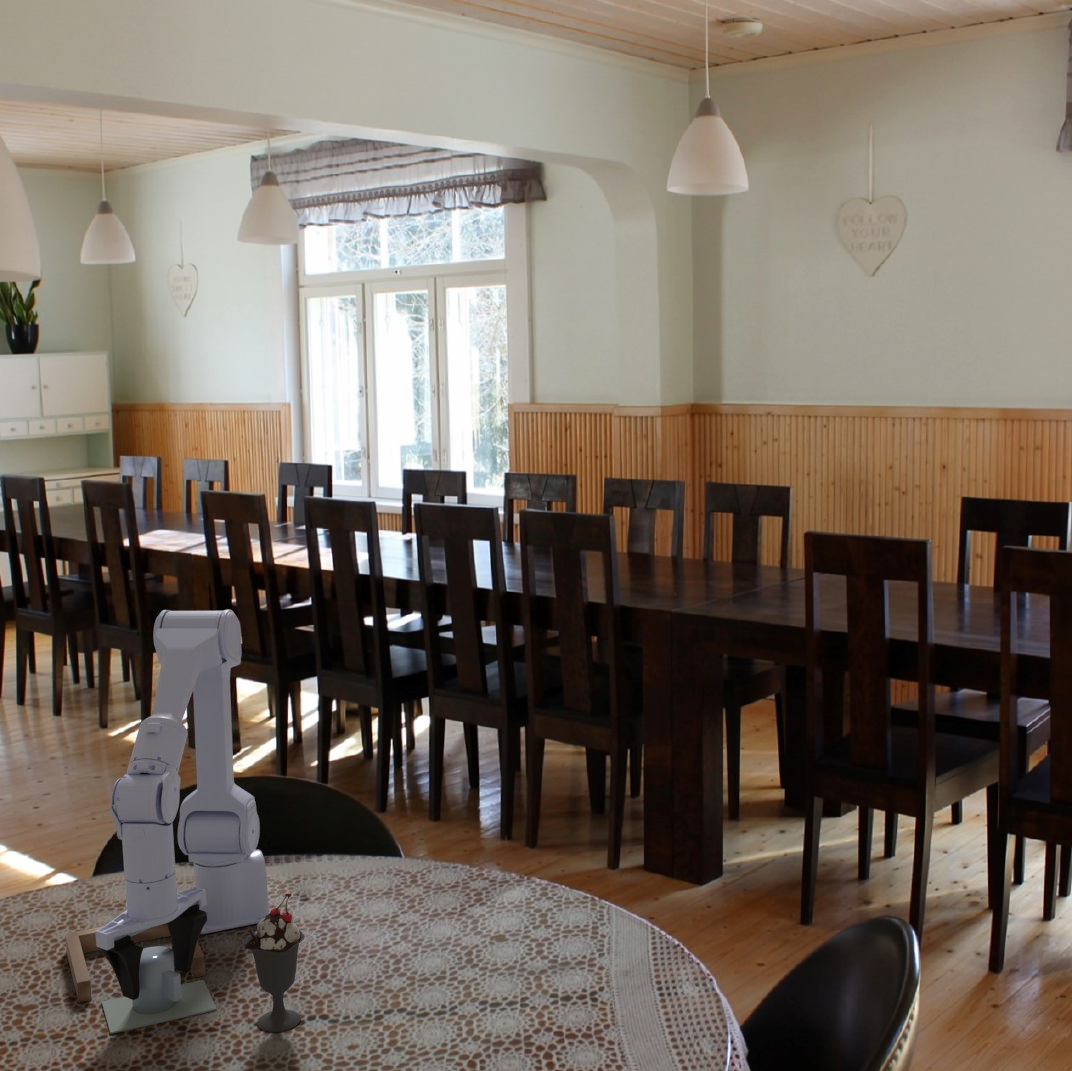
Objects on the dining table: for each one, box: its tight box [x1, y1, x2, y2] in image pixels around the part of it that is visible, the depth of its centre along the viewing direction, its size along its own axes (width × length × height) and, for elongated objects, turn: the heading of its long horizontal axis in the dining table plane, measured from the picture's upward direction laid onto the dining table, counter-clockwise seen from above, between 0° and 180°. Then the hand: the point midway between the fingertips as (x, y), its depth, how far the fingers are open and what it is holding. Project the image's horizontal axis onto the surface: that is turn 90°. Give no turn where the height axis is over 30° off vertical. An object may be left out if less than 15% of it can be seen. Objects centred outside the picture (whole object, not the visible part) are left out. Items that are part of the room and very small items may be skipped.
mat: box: [101, 979, 218, 1035], centre depth 154 cm, size 12×8×1 cm, turn 115°
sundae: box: [244, 893, 305, 1033], centre depth 149 cm, size 7×7×15 cm
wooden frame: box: [64, 923, 206, 1003], centre depth 165 cm, size 15×15×2 cm
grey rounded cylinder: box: [132, 945, 182, 1014], centre depth 153 cm, size 7×5×6 cm
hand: (157, 983), depth 154 cm, fingers open, 7 cm apart
